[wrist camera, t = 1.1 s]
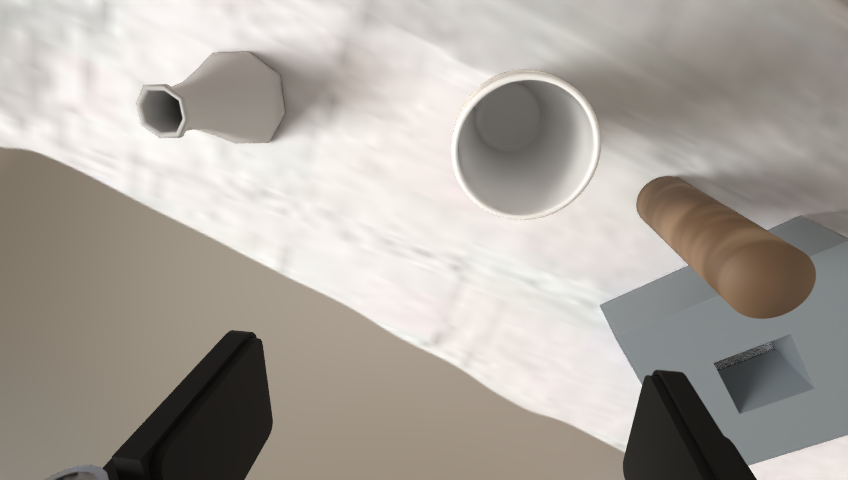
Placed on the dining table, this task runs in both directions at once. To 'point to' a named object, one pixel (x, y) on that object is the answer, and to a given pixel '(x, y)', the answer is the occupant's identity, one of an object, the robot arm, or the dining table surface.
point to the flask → (217, 101)
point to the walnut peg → (728, 249)
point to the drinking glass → (525, 144)
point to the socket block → (734, 333)
